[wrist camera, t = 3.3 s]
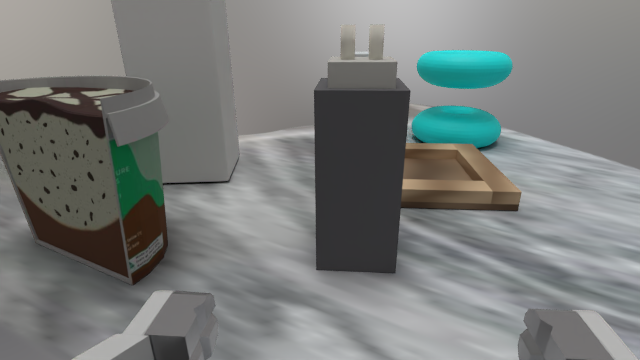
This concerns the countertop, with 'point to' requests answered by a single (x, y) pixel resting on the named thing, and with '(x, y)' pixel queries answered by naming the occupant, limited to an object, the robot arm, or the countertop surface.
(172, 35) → the milk carton
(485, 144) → the donuts
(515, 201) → the wooden tray
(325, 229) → the plug
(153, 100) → the food container
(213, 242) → the countertop surface
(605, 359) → the robot arm
